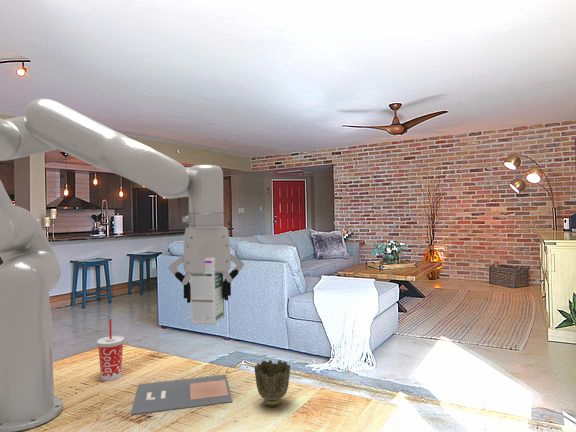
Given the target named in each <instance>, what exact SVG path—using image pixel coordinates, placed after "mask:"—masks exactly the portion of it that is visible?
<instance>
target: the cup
mask: <svg viewBox="0 0 576 432" xmlns="http://www.w3.org/2000/svg"><path fill="white" fill-rule="evenodd" d="M253 369H254V375H255V383H256V384H255V385H256V388H257V392H258V394H259V396H261V397H262V398H263V403H264V405H265V406H266V407H269V408H275V407H279V406H280V405H281V403H282V398H283V397H284V396H285V395H286V394H287V392H288V389H289V383H290V374H291V364H288V362H287V361H282V360H281V359H279V360H278V361H277V362H276V363H275V362H274V363H273V360H271V359H269V360H268V361H267V360H262V361H261V363H258V362H257V364H256V365H254V366H253Z"/></svg>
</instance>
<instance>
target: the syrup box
mask: <svg viewBox="0 0 576 432" xmlns="http://www.w3.org/2000/svg"><path fill="white" fill-rule="evenodd" d="M204 260H205V262H204V263H205V272H204V273H202V274H190V280H189V283H190V323H192V324H197V325H199V324H200V325H216V324H217V323H218V322H220V321H221V320H222V319H224V318H225V299H224V280H225V279H224V275H223V274H222V273H216V268H215V258H212V257H206V259H204Z"/></svg>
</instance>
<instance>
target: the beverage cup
mask: <svg viewBox="0 0 576 432" xmlns="http://www.w3.org/2000/svg"><path fill="white" fill-rule="evenodd" d="M108 321H109V322H108V323H109V327H108V328H109V329H108V330H109V334H108V335H109V336H105V337H101V338H99V339H98V340H97V341H96V346H97V347H98V355H99V369H100V379H101V380H102V381H113V380H117V379H119V378H121V376H122V371H123V369H122V368H123V354H124V353H123V347H124V346H123V345H124V342H125V337H124V336H121V335H112V334H113V333H112V330H113V329H112V319H111V318H109V319H108Z"/></svg>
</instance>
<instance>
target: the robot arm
mask: <svg viewBox="0 0 576 432" xmlns="http://www.w3.org/2000/svg"><path fill="white" fill-rule="evenodd" d="M55 150H56V151H57V150H59V151H61V152H63V153H66V154H67V155H69V156H72V157H73V158H76V159H77V160H80V161H82V162H84V163H86V164H88V165H90V166H92V167H94V168H97V169H98V170H101V171H104V172H108V173H113V174H116V175H118V176H121V177H123V178H125V179H128V180H129V181H132V183H133V182H134V183H136V184H138V185H140V186H142V187H144V188H145V189H148V190H150V191H151V192H152V191H153V192H154V193H156V194H157V195H158V196H160V197H161V198H163V199H169V200H170V199H172V200H173V199H178V198H188V212H189V213H188V215H183V216H182V219H181V220H182V223H185V224H187V225H189V226H188V227H186V228H185V229H184V230H185V231H184V235H183V254H182V255H181V256H179V257H178V258H176V259H175V260H174V261H173V262H171V263H170V264H168V270H169V271H170V272H171V273H172V274H173V276H174V277H175V278H176V279H177V280H178V281H180V283H182V285H183V299H186V303H187V304H191V300H190V274H202V273H204V272H205V263H204V262H205V260H204V259H206V257H212V258H215V268H216V273H222V274H223V278H224V279H223V280H224V301H229V297H230V296H231V295H232V287H231V285H232V282H233V280H234V279H235V278H236V277H237V276H238V275H239V273H240V271H241V270H242V269H243V268H244V266H245V263H244V262H243V261H242V260H241V259H239V258H238V257H236V256H235V255H234V254H232V253H231V244H230V243H231V242H230V241H231V240H230V235H229V231H228V227H226V226H224V224H225V223H224V222H225V221H224V215H225V214H224V172H223V169H222V168H221V167H220V166H219V165H216V164H215V165H214V164H195V165H192V166H191V167H188V166H187V167H186V166H184V165H183V164H182V163H181V162H179V161H177V160H176V159H174V158H172V157H169V156H168V155H167V154H164V153H162V152H160V151H159V150H156V149H154V148H152V147H150V146H148V145H146V144H144V143H141V142H139V141H137V140H135V139H133V138H130V137H129V136H126V135H125V134H123V133H121V132H119V131H116V130H115V129H113V128H110V127H109V126H106V125H104V124H102V123H100V122H98V121H97V120H95V119H93V118H90V117H89V116H87V115H84V114H83V113H80V112H79V111H77V110H75V109H73V108H71V107H69V106H68V105H65V104H63V103H61V102H59V101H57V100H54V99H50V98H46V97H45V98H42V97H41V98H36V99H34V100H32V101H31V102H29V103H28V104H27V105H26V106H25V108H24V109H23V113H22V116H15V117H12V118H5V119H3V118H1V117H0V161H1V162H2V161H3V162H4V161H11V160H16V159H21V158H25V157H30V156H34V155H39V154H43V153H47V152H52V151H55ZM0 259H1V261H2V263H1V264H0V432H20V431H25V430H29V429H32V428H35V427H39V426H42V425H43V424H45V423H47V422H49V421H51V420H53V419H54V418H56V417H58V416H59V414H60V413H61V412H62V411H63V408H64V405H63V404H64V402H63V400H62V399H61V398H60V397H57V396H55V388H54V387H55V384H54V381H55V380H54V344H53V343H54V341H53V340H54V339H53V338H54V337H53V336H54V335H53V315H52V307H51V302H50V292H52V291H53V289H54V288H55V287H57V285H58V284H59V281H60V278H61V274H62V271H61V270H62V269H61V265H60V262H59V260H58V258H57V255H56V254H55V251H54V249H53V247H52V245H51V243H50V241H49V240H48V238H47V236H46V233H45V232H44V230H43V227H42V225H41V224H40V223H39V221H38V218H37V217H36V216H35V215H34V214H33V213H32V212H31V211H30V210H28V209H26V208H24V207H21V206H18V205H15V204H13V202H12V199H11V198H10V196H9V194H8V193H7V191H6V188H5V187H4V184H3V182H2V180H1V179H0ZM231 263H233V264H234V265H235V267H234V268H233V269H232V270H231V267H232V266H231V265H232V264H231ZM181 264H183V265H182V266H183V271H184V272H185V274H183V273H181V272H180V270H179V269H178V267H179V266H180V265H181ZM230 270H231V271H230ZM228 271H230V272H228Z"/></svg>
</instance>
